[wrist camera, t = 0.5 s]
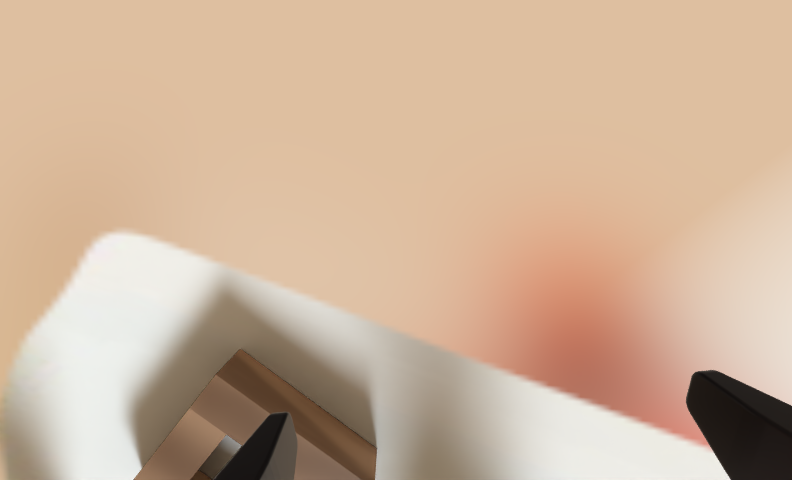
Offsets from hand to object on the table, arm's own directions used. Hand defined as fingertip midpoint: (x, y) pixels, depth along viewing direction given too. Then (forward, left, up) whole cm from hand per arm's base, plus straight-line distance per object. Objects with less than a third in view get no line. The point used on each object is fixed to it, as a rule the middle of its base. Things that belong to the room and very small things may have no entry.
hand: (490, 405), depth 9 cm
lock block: (-17, +1, -16) cm, 23 cm away
